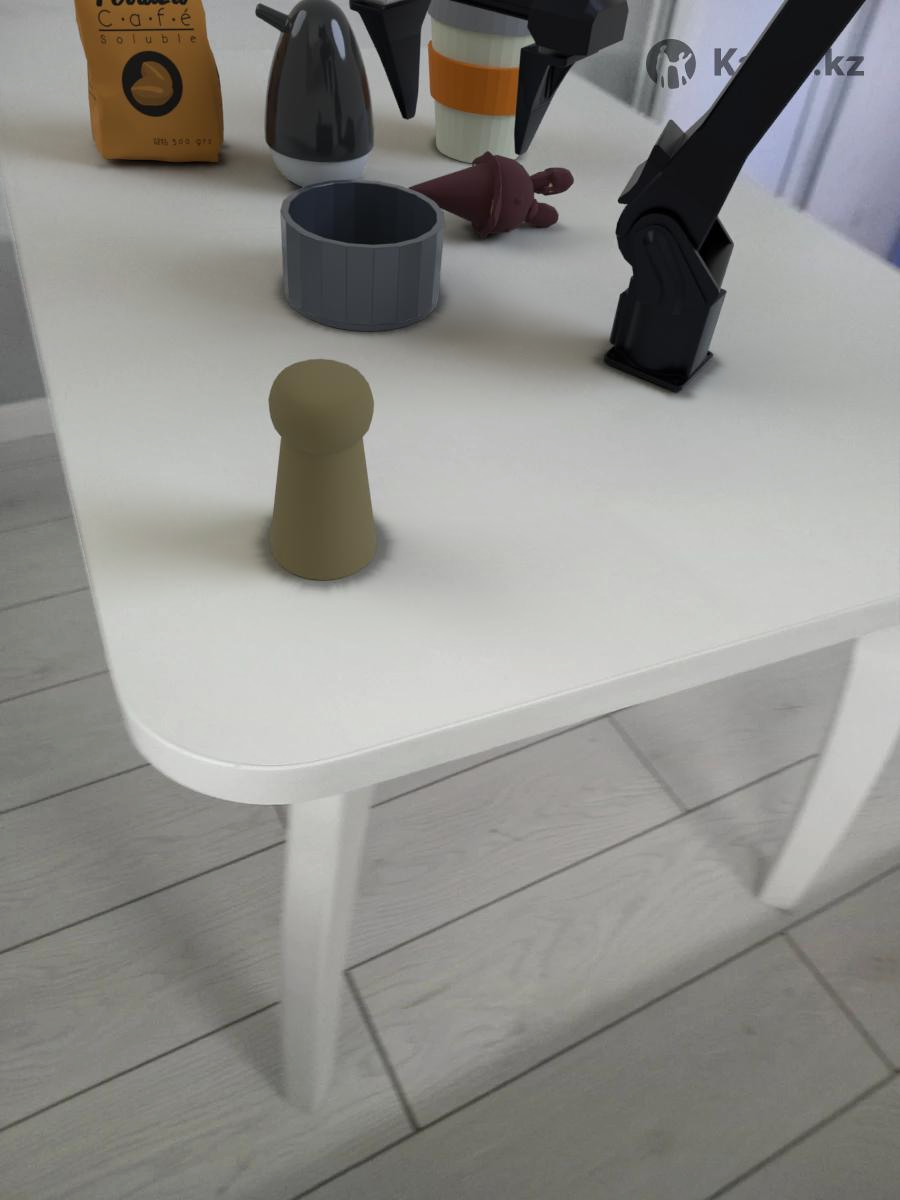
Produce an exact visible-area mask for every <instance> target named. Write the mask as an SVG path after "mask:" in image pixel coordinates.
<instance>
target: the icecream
mask: <svg viewBox="0 0 900 1200" xmlns="http://www.w3.org/2000/svg"><path fill="white" fill-rule="evenodd" d="M574 183H575V178H574V176H573V174H572V172H571V171H570V169H567V168H565V167H548V168H545V169H544V170H543V171H538V172H535V173H534V174H531V175H530V174H529V172H528V171H527V170H526V168H525V167H524V166H523V165H522V164H521V163H520V162H518V160H517V161H516V159H510V158H507V157H503V156H500V155H494V156H493V155H492V154H491V153H490V152H489V151H487V152H485V153H484V154H483V155H482V156H479V157H477V158H475V159H474V160H473V162H472V163H471V166H469V167H466V168H463V169H460V170H457V171H454V172H449V173H447V174H445V175H441V176H438V177H435V178H432V179H430V180H425V181H422V182H420V183H416V184H414V185H411V186H409V187H407V188H408V189H411V190H414V191H417V192H419V193H422V194H423V195H425V196H427V197H428V198H430V199H431V200H433V201H435V202H436V204H437V205H438V206H439V207H440V209H441V210H442V211H446V212H448V213H450V214H452V215H454V216H457V217H459V218H461V219H463V220H466V221H467V222H469V223H470V226H471V227H472V229H473V230H474V231H476V233H478V235H479V237H481V238H482V239H484V238H487V236H488V235H489V234H492V235H493V234H506V233H507V234H508V233H510V232H512V231H515V230H516V229H519V227H520V226H522V224H523V223H526V224H528V225H530V226H531V225H532V226H534V227H537V228H548V227H551V226H554V225H555V224H557V223H558V222H559V216H560V214H559V212H558V210H557V209H556V207H555V206H553V205H550V204H548V203H546V202H539V201H538V200H537V199H536V198H535V194H537V195H543V196H545V197H548V196H553V195H558V194H562V193H565V192H566V191H568V190H569V189H570V188H571V187H572V186H573V185H574Z"/></svg>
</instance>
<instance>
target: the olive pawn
mask: <svg viewBox="0 0 900 1200" xmlns="http://www.w3.org/2000/svg"><path fill="white" fill-rule="evenodd" d="M267 400H268V402H267V403H268V412H269V416H270V420H271V423H272V426H273V428H274V430H275V432H277V434H278V435H279V436H280V443H279V451H278V461H277V462H278V463H277V471H276V482H275V490H274V491H275V492H274V501H273V511H272V519H271V527H270V539H269V546H270V552H271V553H270V554H271V556H272V557H273V558H274V560H275V561H276V563H277V564H278V565H279V566H280V567H282V568H283V569H284V570H286V571H287V572H288V573H290V574H292V575H296V576H298V577H301V578H304V579H307V580H317V581H318V580H319V581H329V580H339V579H343V578H345V577H346V578H347V577H349V576H352V575H355V574H357V573H358V572H360V571H361V570H362V569H364V568H365V567H366V566H368V565H369V564H370V563H371V561H372V560H373V558H374V557H375V555H376V550H377V546H378V541H377V534H376V527H375V518H374V512H373V504H372V497H371V489H370V483H369V474H368V467H367V459H366V452H365V444H364V437H365V435H366V434H367V433H368V432H369V430H370V427H371V425H372V421H373V417H374V413H375V412H374V411H375V400H374V396H373V392H372V389H371V385H370V383H369V382H368V380H367V379H366V377H365V376H364V375H363V374H362V373H361V372H360V371H359V370H358V369H357V368H355V367H353V366H351V365H349V364H348V363H345V362H341V361H338V360H335V359H328V358H327V359H326V358H310V359H306V360H302V361H297V362H295V363H294V362H293V364H290V365H288V366H286V367H284V368H283V369H282V370H281V371H280V372H279V373H278V374H277V376H276V378H274V380H273V381H272V384H271V387H270V390H269V394H268V399H267Z"/></svg>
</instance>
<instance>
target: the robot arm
mask: <svg viewBox="0 0 900 1200" xmlns="http://www.w3.org/2000/svg"><path fill="white" fill-rule="evenodd" d="M450 1H454V2H458V3H462V4H465V5H469V6H473V7H477V8H481V9H485V10H488V11H492V12H496V13H500V14H504V15H508V16H511V17H515V18H519V19H523V20H527V21H528V24H527V28H528V30H529V32H530V34H531V36H532V37H533V39H534V41H535V43H533V44H530V45H528V46H525V47H523V48H521V51H520V63H519V75H518V89H517V102H516V114H515V127H514V145H515V154H517V155H519V156H521V155H524V154H526V153H527V152H528V150H529V148H530V146H531V144H532V142H533V140H534V137H535V136H536V134H537V132H538V129H539V128H540V126H541V123H542V121H543V119H544V117H545V115H546V113H547V112H548V111H547V110H548V109H549V107H550V105H551V102H552V101H553V98H554V96H555V94H556V93H557V91H558V89H559V88H560V85H561V84H562V82H563V81H564V79H565V78H566V76H567V75H568V73H569V71H570V70H571V69H572V68H573V66H574V65H575V64H576V63H577V62H580V61H582V60H584V59H586V58H588V57H591V56H593V55H595V54H598V53H599V52H600V51H602V50H604V49H606V48H608V47H610V46H613V45H615V44H617V43H619V42H622V41H623V40H624V37H625V33H626V26H627V21H628V17H629V11H630V10H629V5H628V4H629V3H628V0H450ZM865 2H867V0H784V1H782V3H781V4H780V6H779V7H778V9H777V10H776V12H775V13H774V15H773V16H772V18H771V19H770V21H769V22H768V23H767V25H766V26H765V28H764V29H763V31H761V33H760V34H759V37H758V38H757V39H756V41H755V42H754V44H752V47H751V48H750V49H749V50H748V52H747V53H746V55H745V57H744V58H743V60H741V62H740V64H739V65H738V67H737V68H736V69H735V71H734V72H733V74H732V75H731V77H729V80H728V81H727V83H726V84H725V86H724V87H723V89H722V90H721V92H719V94H718V96H717V97H716V98H715V100H714V102H712V104H711V106H710V107H709V108H708V109H707V110H706V112H705V113H704V114H702V115H701V117H699V119H697V120H696V121H695V122H694V123H693V124H692V125H691V126H690V127H689V128H688V129H687V130H685V131H684V130H682V128H681V127H680V126H679V125H678V124H677V123H676V122H675V121H674V120H673V119H671V118H670V119H669V120H668V121H667V123H666V124H665V126H664V128H663V130H662V131H661V133H660V135H659V136H658V138H657V140H656V142H655V143H654V145H653V146H652V149H651V151H650V154H649V155H648V157H647V159H646V160H645V161H643V162H642V163H640V164H639V165H637V167H636V168H635V169H634V171H633V173H632V175H631V176H630V178H629V180H628V181H627V183H626V185H625V187H624V188H623V189H622V191H621V193H620V195H619V196H618V198H617V203H618V204H620V205H624V207H623V209H622V211H621V212H620V215H619V217H618V219H617V221H616V226H615V231H614V233H615V236H616V242H617V247H618V250H619V252H620V254H621V255H622V257H623V259H624V261H626V263H628V264H629V265H630V267H631V270H632V275H631V276H630V278H629V283H628V287H627V288H626V289H625V290H624V291H622V292H621V293H619V295H618V296H619V297H618V302H617V305H616V309H615V314H614V318H613V322H612V328H611V331H610V336H609V340H608V341H609V343H610V345H613V346H612V347H610V348H609V349H608V350H606V352H604V354H603V357H602V362H604V363H606V364H607V365H610V366H612V367H615V368H617V369H620V370H622V371H624V372H627V373H630V374H632V375H634V376H637V377H640V378H642V379H644V380H646V381H649V382H652V383H654V384H656V385H659V386H662V387H664V388H666V389H669V390H670V391H675V392H681V391H683V390H684V389H685V388H686V387H687V386H688V385H690V383H691V382H692V381H693V380H694V379H695V378H696V377H697V376H698V375H699V374H700V373H701V372H702V371H703V370H704V369H705V368H706V367H707V366H708V365H709V364H710V362H711V361H712V360H713V357H714V353H713V352H712V351H710V350H709V349H710V345H711V342H712V339H713V338H714V337H713V336H714V333H715V330H716V328H717V324H718V321H719V317H720V315H721V311H722V308H723V304H724V301H725V299H726V295H727V294H728V293H727V292H728V291H727V290H726V289H724V288H722V286H723V283H724V280H725V276H726V272H727V269H728V267H729V264H730V261H731V256H732V254H733V251H734V247H735V243H734V241H733V239H732V237H731V236H730V234H729V232H728V231H727V229H726V227H725V226H724V224H723V222H722V220H721V218H720V217H719V214H720V212H721V210H722V208H723V207H724V204H725V203H726V200H727V198H728V197H729V195H730V192H731V190H732V189H733V187H734V184H735V183H736V181H737V179H738V176H739V174H740V173H741V171H742V169H743V166H744V165H745V163H746V161H747V159H748V158H749V156H750V155H751V154H752V152H753V151H754V149H755V148H756V147H757V145H758V144H759V143H760V142H761V140H762V139H763V138H764V137H765V135H766V133H767V132H768V131H769V130H770V128H771V127H772V126H773V125H774V124H775V122H776V120H777V119H778V118H779V116H780V115H781V114H782V112H783V111H784V110H785V108H786V107H787V106H788V105H789V103H790V102H791V101H792V99H793V98H794V96H795V95H796V94H797V93H798V91H799V90H800V88H801V87H802V86H803V84H804V83H805V82H806V81H807V80H808V78H809V76H810V75H811V74H812V72H813V71H814V70H815V69H816V67H817V66H818V64H819V63H820V62H821V61H822V60H823V58H824V57H825V56H826V54H827V53H828V51H830V49H831V48H832V46H833V45H834V43H835V42H836V41H837V40H838V38H839V37H840V36H841V34H842V33H843V31H845V29H846V28H847V26H848V25H849V24H850V22H851V21H852V20H853V18H854V17H855V16H856V14H857V13H858V12H859V10H860V9H861V8H862V6H863V5H864V4H865ZM430 3H431V0H348V7H349V9H350V10H351V11H353V12H356V13H358V15H359V16H360V19H361V21H362V23H363V25H364V27H365V29H366V31H367V33H368V36H369V38H370V40H371V42H372V44H373V46H374V48H375V51H376V53H377V56H378V57H379V60H380V62H381V65H382V67H383V70H384V72H385V75H386V78H387V81H388V83H389V86H390V88H391V91H392V94H393V97H394V99H395V101H396V104H397V107H398V109H399V113H400V115H401V117H402V119H404V120H407V121H408V120H411V119H414V117H415V116H416V112H417V107H418V99H419V91H420V90H419V89H420V68H421V67H420V63H421V43H422V29H423V24H424V21H425V18H426V16H427V14H428V8H429V6H430Z"/></svg>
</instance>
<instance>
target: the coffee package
mask: <svg viewBox="0 0 900 1200" xmlns="http://www.w3.org/2000/svg"><path fill="white" fill-rule="evenodd" d="M73 4H74V11H75V22H76V25H77V29H78V35H79V38H80V42H81V45H82V49H83V52H84V57H85V59H86V67H87V68H86V72H87V93H88V94H87V95H88V99H87V100H88V106H89V117H90V128H91V129H90V130H91V137H92V140H93V142H94V144H95V147H96V150H97V152H98V154H99V155H100V156H101V158H103V159H104V160H110V159H111V160H112V159H114V160H127V161H128V160H132V161H133V160H134V161H160V162H166V163H167V162H169V163H188V162H189V163H191V162H209V163H219V161H220V159H219V153H220V151H221V148H222V146H223V143H224V139H225V138H224V136H225V135H224V133H225V123H224V121H225V120H224V105H223V96H222V85H221V78H220V73H219V68H218V66H217V62H216V58H215V55H214V52H213V51H212V48H211V45H210V42H209V37H208V31H207V18H206V17H207V16H206V11H205V8H204V4H203V1H202V0H73Z"/></svg>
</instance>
